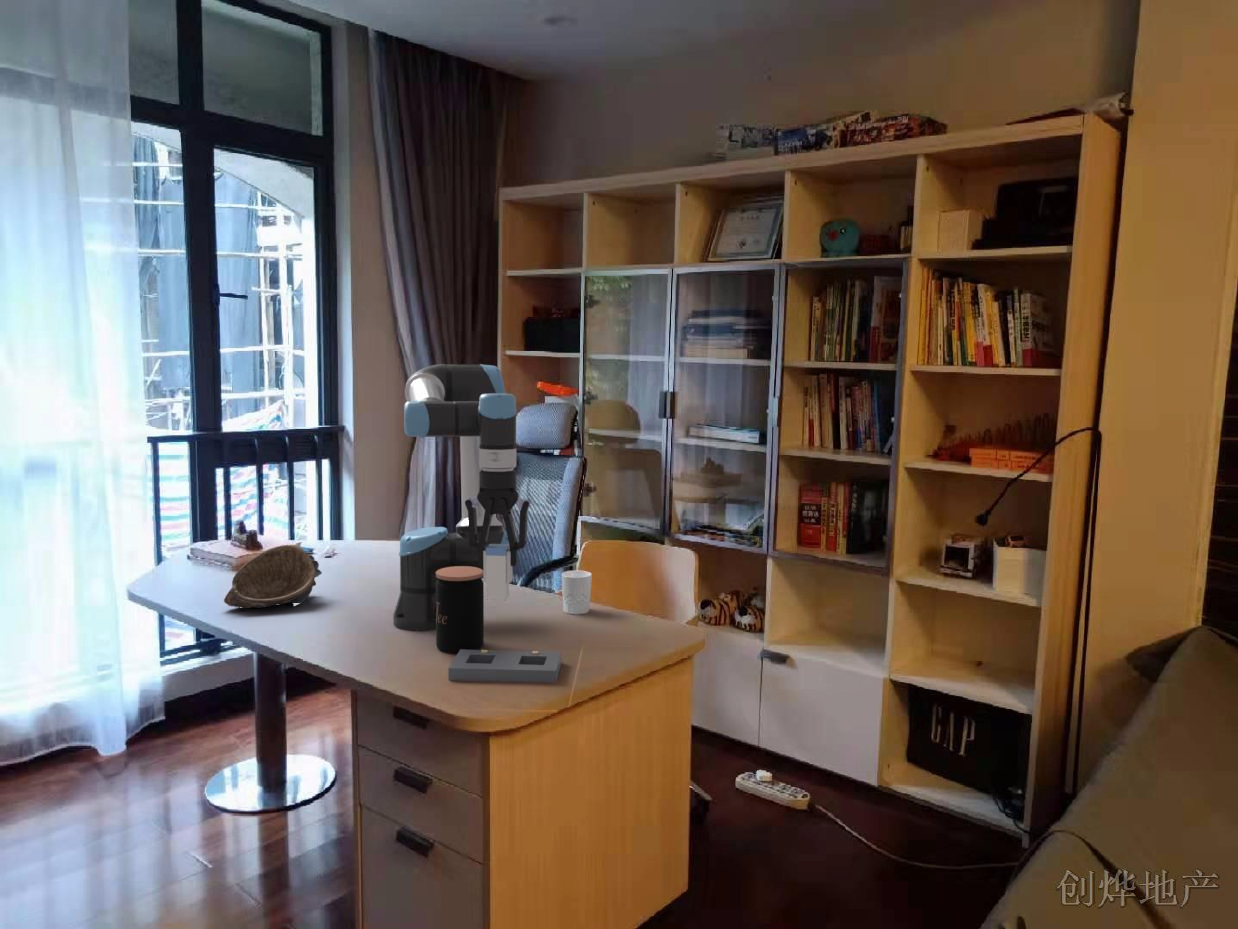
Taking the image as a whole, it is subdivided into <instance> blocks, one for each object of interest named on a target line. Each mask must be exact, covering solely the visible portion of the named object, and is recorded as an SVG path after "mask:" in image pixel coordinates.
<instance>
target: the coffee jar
mask: <svg viewBox="0 0 1238 929" xmlns="http://www.w3.org/2000/svg"><path fill="white" fill-rule="evenodd" d="M482 576H483V570H482V569H480V568H476V567H470V566H454V567H446V568H442V569H439V570H437V571H436V577H437V578H438V580H437V581H436V629H435V633H436V634H435V638H436V639H435V640H436V641H435V642H436V648H437V649H438V650H439V651H441V652H443V653H445V654H446V653H447V654H456V655H457V654H458V652H459V651H460V649H465V650H481V648H482V647H483V645H484V642H485V639H484V636H485V635H484V633H485V631H484V630H485V628H484V627H485V626H484V625H485V624H484V622H485V619H484V618H485V616H484V612H485V611H484V607H485V606H484V602H485V601H484V598H485V596H484V595H485V594H484V591H485V590H484V586H485V585H484V583H485V582H483V579H481V577H482Z"/></svg>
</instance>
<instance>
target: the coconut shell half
mask: <svg viewBox="0 0 1238 929" xmlns="http://www.w3.org/2000/svg"><path fill="white" fill-rule="evenodd" d="M319 564H320V563H319V562H318V561H317V560H316V559H315V556H313V555H311V554H308V553H307V552H306V551H305V549H303V548H302V547H301V546H298V545H294V544H281V545H277V546H274V547H270V548H269V549H266V550H263V551H261V552H260V553H258V554H257V555H255V556H254V557H252V558H250V559H249V560H248V561H247V562H245V563H244V564H243V565H242V566H241V567H240V568H239V569H238V571H237V572H236V573H235V574H234V577H233V578H232V582H231V588H230V589H229V591H228V592H227V593H226V595H225V597H224V599H223V602H224V603H225V604H226V605H227V606H229V607H234V608H239V607H244V609H247V608H246V607H257V609H258V608H260V607H261V608H266V606H267V607H273V606H277V605H276V604H281V605H280V606H282V605H284V604H285V605H286V604H288V603H291V604H292V603H301V602H302V603H303V602H304V601H305V600H307V598H308V597H309V596H310V594H311V593H312V591H313V587H315V586H317V582H316V581H315V580H316V579H315V578H318V577H320V575H322V571H321V570H320V569H319V566H320V565H319ZM302 603H301V604H302ZM272 605H273V606H272Z"/></svg>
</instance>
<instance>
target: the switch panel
mask: <svg viewBox="0 0 1238 929" xmlns="http://www.w3.org/2000/svg"><path fill="white" fill-rule="evenodd" d="M561 666H562V651H544V650H541V651H540V650H503V649H501V650H499V649H498V650H497V649H479V650H465V649H460V651H459V652H458V654H456V655H455V657H454V658H453V660H452V662H451V663H450V665H449V667H448V668H447V670H448V671H447V672H448V675H447V676H448V681H463V682H464V681H469V682H506V683H507V682H508V683H509V682H510V683H539V684H540V683H541V684H542V683H546V684H549V683H550V684H555V683H557V680H558V678H559V674H560V673H559V672H560V669H561Z"/></svg>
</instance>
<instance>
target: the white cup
mask: <svg viewBox="0 0 1238 929" xmlns="http://www.w3.org/2000/svg"><path fill="white" fill-rule="evenodd" d="M592 576H593V573H591V572H590V571H587V570H586V571H585V570H579V569H578V570H566V571H563V572H561V593H562V609H563V612H564V613H566V614H569V615H583V614H588V613H589V611H590V601H591V592H592Z"/></svg>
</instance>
